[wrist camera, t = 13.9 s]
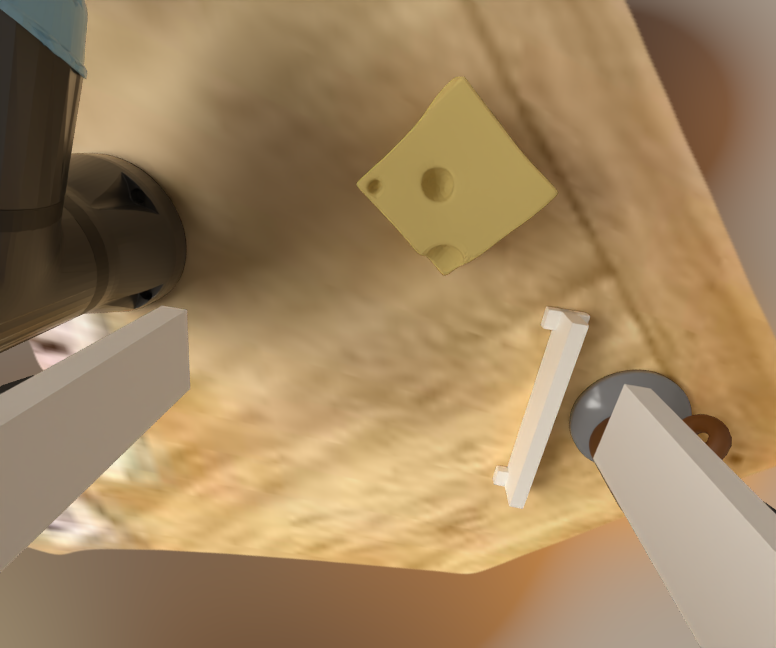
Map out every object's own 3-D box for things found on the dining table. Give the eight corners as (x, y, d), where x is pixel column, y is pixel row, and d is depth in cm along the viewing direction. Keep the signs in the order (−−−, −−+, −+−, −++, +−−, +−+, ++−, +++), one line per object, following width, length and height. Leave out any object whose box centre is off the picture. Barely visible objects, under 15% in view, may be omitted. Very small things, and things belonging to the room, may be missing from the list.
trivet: (555, 453, 47) (557, 458, 46) (590, 360, 42) (593, 364, 42) (660, 471, 47) (664, 476, 46) (706, 380, 42) (711, 384, 41)
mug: (644, 364, 41) (703, 419, 32) (706, 397, 42) (780, 459, 33) (571, 449, 46) (606, 517, 37) (629, 477, 46) (676, 550, 38)
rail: (492, 478, 49) (498, 504, 45) (546, 306, 41) (558, 320, 37) (525, 484, 49) (534, 510, 45) (586, 312, 41) (602, 328, 37)
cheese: (440, 262, 40) (445, 292, 31) (364, 175, 38) (345, 180, 28) (530, 186, 37) (565, 195, 28) (453, 86, 34) (464, 59, 25)
